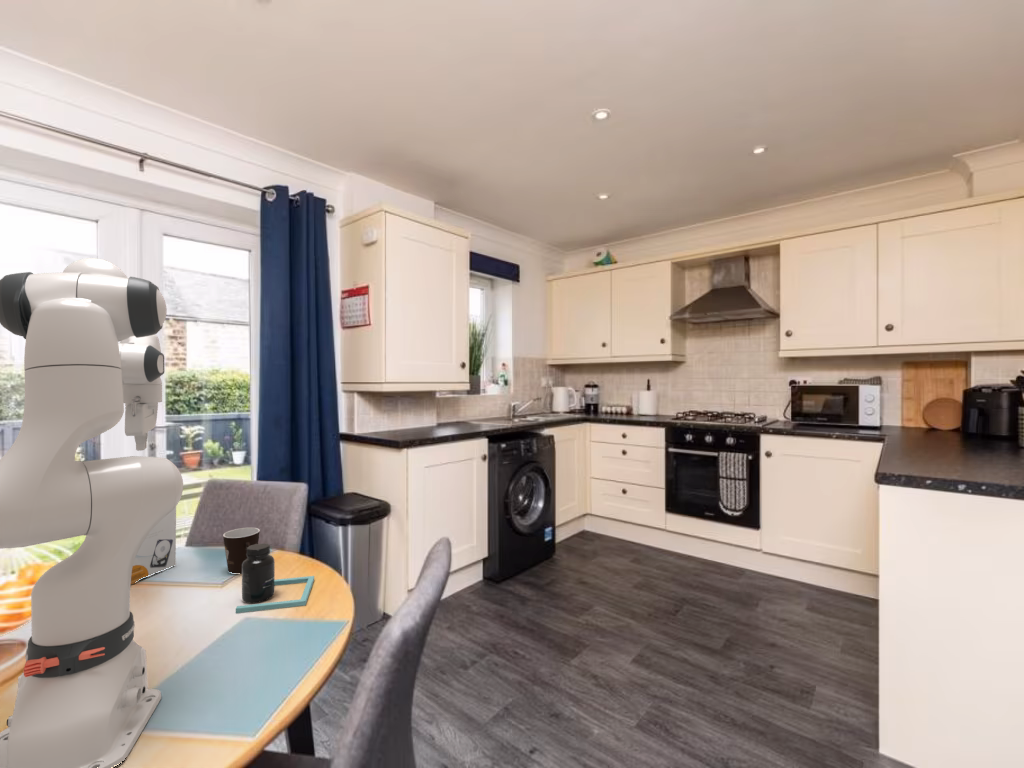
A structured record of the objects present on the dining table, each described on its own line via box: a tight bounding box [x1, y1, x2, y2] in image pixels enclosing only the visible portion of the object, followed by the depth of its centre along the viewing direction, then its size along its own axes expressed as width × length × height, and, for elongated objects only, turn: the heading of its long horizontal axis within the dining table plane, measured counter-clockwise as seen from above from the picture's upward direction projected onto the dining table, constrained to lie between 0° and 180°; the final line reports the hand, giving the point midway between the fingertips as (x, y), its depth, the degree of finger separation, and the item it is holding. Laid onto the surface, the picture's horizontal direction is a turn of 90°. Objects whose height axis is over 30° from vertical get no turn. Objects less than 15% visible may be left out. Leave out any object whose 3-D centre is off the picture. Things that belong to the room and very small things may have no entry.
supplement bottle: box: [241, 543, 276, 604], centre depth 113 cm, size 7×7×12 cm
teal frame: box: [235, 575, 315, 614], centre depth 115 cm, size 14×14×1 cm
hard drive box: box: [131, 506, 177, 585], centre depth 126 cm, size 16×8×20 cm, turn 168°
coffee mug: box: [222, 527, 261, 575], centre depth 128 cm, size 12×9×10 cm
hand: (141, 449), depth 124 cm, fingers closed
